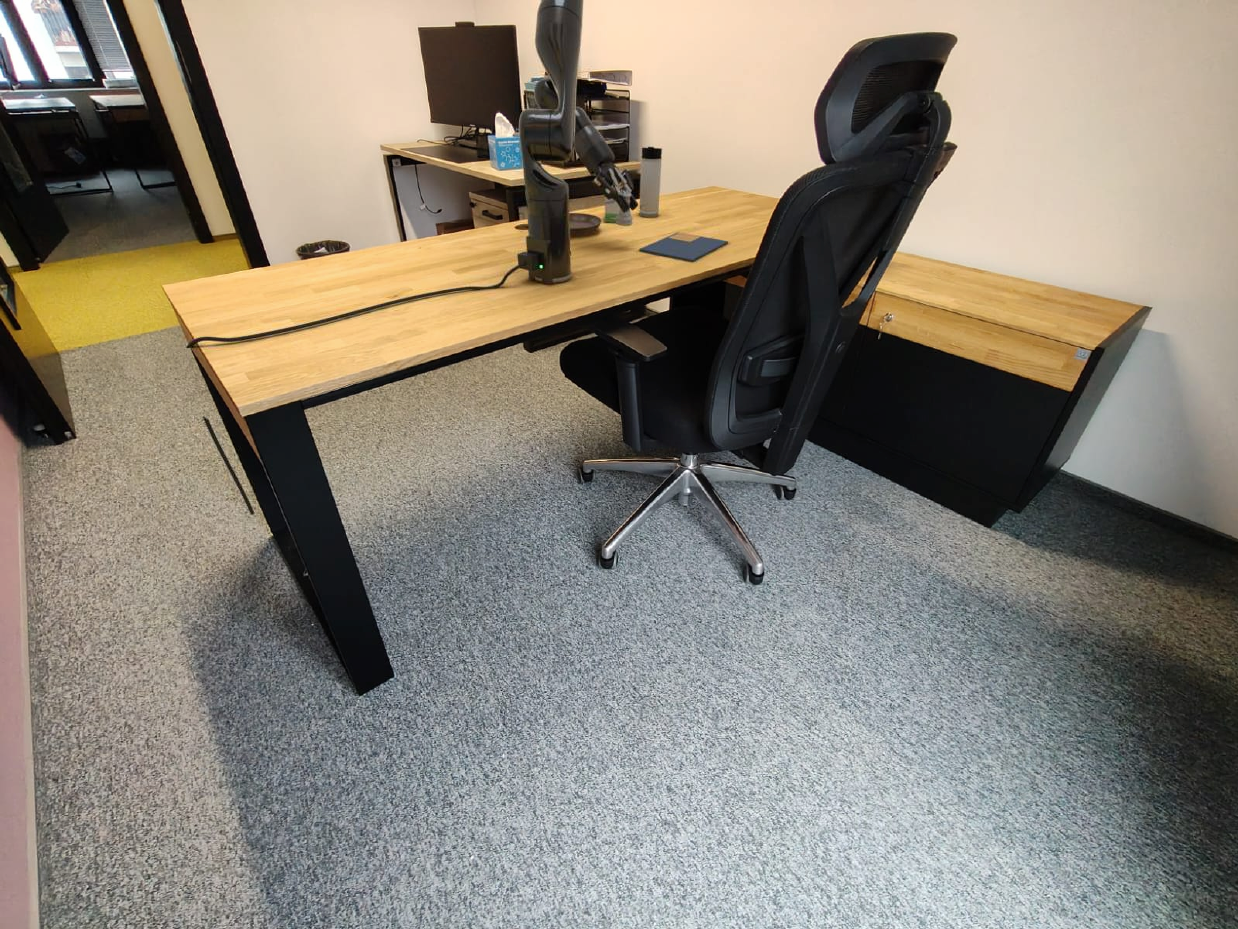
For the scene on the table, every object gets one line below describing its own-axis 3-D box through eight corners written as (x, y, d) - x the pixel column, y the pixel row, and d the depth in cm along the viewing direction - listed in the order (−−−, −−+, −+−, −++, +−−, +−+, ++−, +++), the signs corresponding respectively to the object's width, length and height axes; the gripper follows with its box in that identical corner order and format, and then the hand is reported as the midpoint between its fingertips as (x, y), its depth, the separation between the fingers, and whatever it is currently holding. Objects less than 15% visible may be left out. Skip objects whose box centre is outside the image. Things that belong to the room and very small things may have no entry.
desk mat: (692, 262, 143) (692, 258, 142) (639, 251, 149) (639, 247, 149) (728, 243, 158) (728, 240, 157) (678, 234, 164) (678, 231, 164)
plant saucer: (559, 241, 155) (559, 230, 153) (531, 227, 167) (530, 216, 165) (613, 233, 163) (613, 222, 161) (582, 220, 175) (582, 210, 173)
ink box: (605, 216, 181) (605, 175, 174) (621, 216, 181) (622, 176, 174) (604, 222, 174) (604, 180, 167) (621, 223, 174) (622, 181, 167)
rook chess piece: (622, 221, 149) (623, 188, 144) (636, 223, 147) (637, 190, 142) (612, 224, 146) (613, 190, 141) (626, 227, 144) (627, 193, 139)
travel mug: (637, 217, 181) (640, 146, 169) (640, 212, 186) (643, 143, 174) (657, 218, 180) (661, 147, 168) (659, 213, 185) (663, 144, 173)
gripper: (584, 141, 134) (625, 203, 136) (617, 137, 144) (654, 195, 146) (567, 164, 139) (607, 223, 141) (599, 158, 149) (636, 213, 151)
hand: (631, 208), depth 143 cm, fingers closed on rook chess piece, 3 cm apart
